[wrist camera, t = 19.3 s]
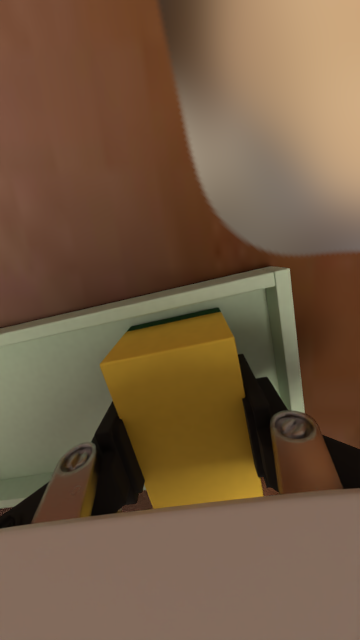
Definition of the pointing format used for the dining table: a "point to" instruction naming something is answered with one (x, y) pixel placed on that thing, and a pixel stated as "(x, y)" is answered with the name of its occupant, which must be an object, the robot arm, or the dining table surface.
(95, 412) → the tray
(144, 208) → the dining table surface
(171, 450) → the sponge
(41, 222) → the dining table surface
